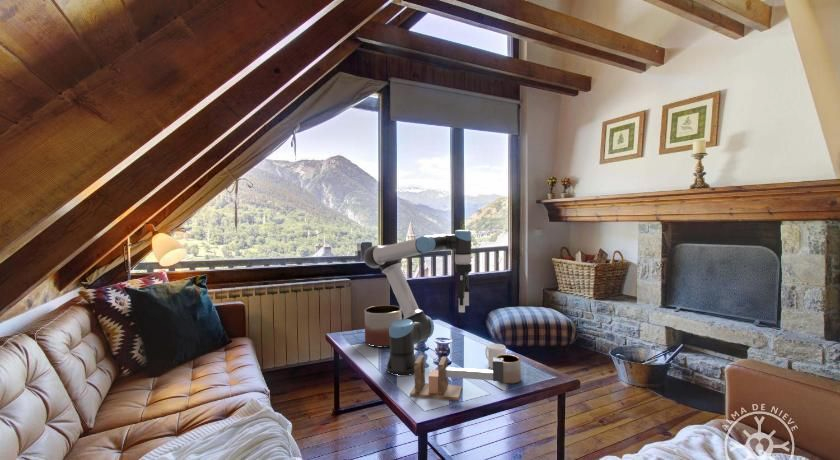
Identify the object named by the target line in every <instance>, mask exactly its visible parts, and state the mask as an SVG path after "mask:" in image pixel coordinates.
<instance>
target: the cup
mask: <svg viewBox="0 0 840 460" xmlns="http://www.w3.org/2000/svg"><path fill="white" fill-rule="evenodd" d="M506 349H507V347H506V346H505V345H504V344H500V343H491V344H489V345H488V346H486V347H485V357H486V359H487V360H488V364H487V365H488V368H489V370H493V358H496V357H497V356H499V355H504V354H506Z"/></svg>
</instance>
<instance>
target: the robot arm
mask: <svg viewBox="0 0 840 460" xmlns="http://www.w3.org/2000/svg"><path fill="white" fill-rule="evenodd" d="M439 251H454V263H455V265H454V270H455V271H454V272H456V273H459V275H458V283H457V285H458V288H457V295H456V299H458V313H466V307H467V306H468V307H469V306H470V292H471V289H470V285H469V284H470V282H469V273H471V272H472V271H473V270H472V268H473V266H472V259H474V258H473V256H472V232H471V230H469V229H456V230H454V233H453V234H450V233H447V234H446V233H436V234H432V235H431V234H430V235H427V234H425V235H421V236H420V237H417V238H413V239H412V238H411V239H409V240H404V241H401V242H397V243H396V242H395V243H393V244H390V243H388V244H382V245H380V244H379V245H373V246H370V247H368V248H366V250H365V251H364V253H363V261H364V263H365V265H366V266H368V267H370V268H371V269H380V271H381V273H382V274H384V275H386V278H387V280H388V283H389V285H390V288H391V289H392V292H393V294H394V295H395V298H396V301H397V303H398V307H400V308H401V314H402V315H403V317H402V319H401V320H396V321H394V322H392V323H391V325H390V329H389V339H390V347H389V357H388V361H387V364H386V372H387V371H389V372H390V373H393V374H398V375H407V376H410V375H409V374H411V375H414V374H415V372H414V363H415V361H416V360H417V358H416V355H415V345H417V344H419V343H421V342H424V341H426V340H428V339H429V338H431V336H433V334H434V330H435V326H434V325H435V324H434V321H433V319H432V318H431V317H430V316H428V315H426V314H425V312H424V310H422V309H420V308H419V305H418V304H417V301H416V299H415V297H414V294H413V292H412V290H411V287H410V285H409V283H408V282H407V281H408V280H407V278H406V277H405V274H404V272H403V270H402V266H403V263H402V260H403V259H405V258H408V257H409V258H410V257H412V256H413V257H414V256H418V255H422V254H423V255H424V254H428V253H431V252H433V253H434V252H439ZM413 373H414V374H413Z"/></svg>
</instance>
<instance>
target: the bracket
mask: <svg viewBox="0 0 840 460" xmlns="http://www.w3.org/2000/svg"><path fill="white" fill-rule="evenodd" d="M437 366H438V367H437V370H438V379H439V394H436V393H429V382H428V383H427V382H426V373H425V371H426V369H425V355H422V354H419V355H418V357H417V358H416V361H415V363H414V372H415V373H414V386H413V388H412V390H410V393H409V397H411V396H417V397H416V398H424V399H425V398H427V399H436V400H437V399H438V400H446V401H447V400H448V401H449V400H450V401H459V400H460V396H461V394H462V389H463V386H462V385H453V384H449V380H448V378H449V377H445V367H448V356H442V357H441V358H440V361H439V362H438V365H437Z"/></svg>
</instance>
